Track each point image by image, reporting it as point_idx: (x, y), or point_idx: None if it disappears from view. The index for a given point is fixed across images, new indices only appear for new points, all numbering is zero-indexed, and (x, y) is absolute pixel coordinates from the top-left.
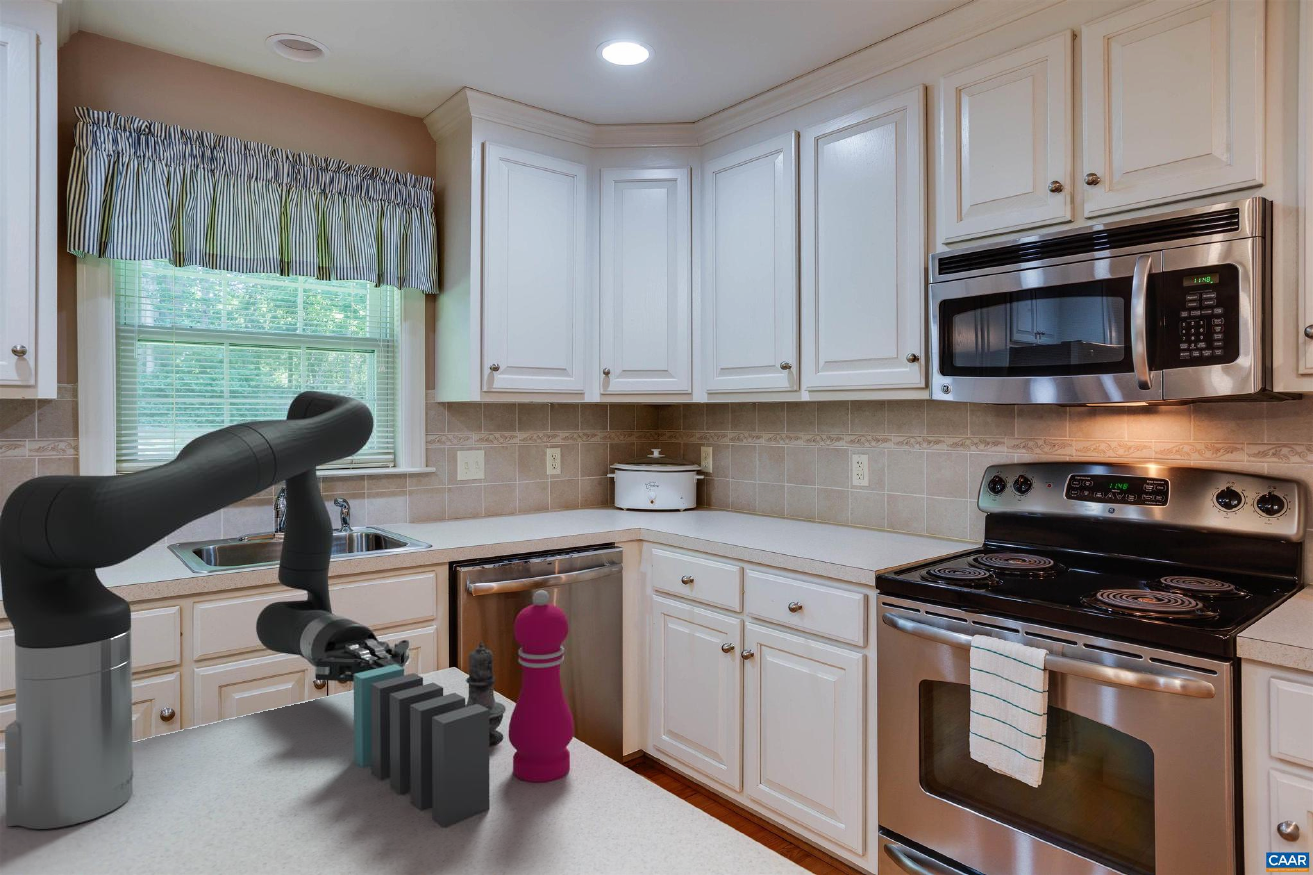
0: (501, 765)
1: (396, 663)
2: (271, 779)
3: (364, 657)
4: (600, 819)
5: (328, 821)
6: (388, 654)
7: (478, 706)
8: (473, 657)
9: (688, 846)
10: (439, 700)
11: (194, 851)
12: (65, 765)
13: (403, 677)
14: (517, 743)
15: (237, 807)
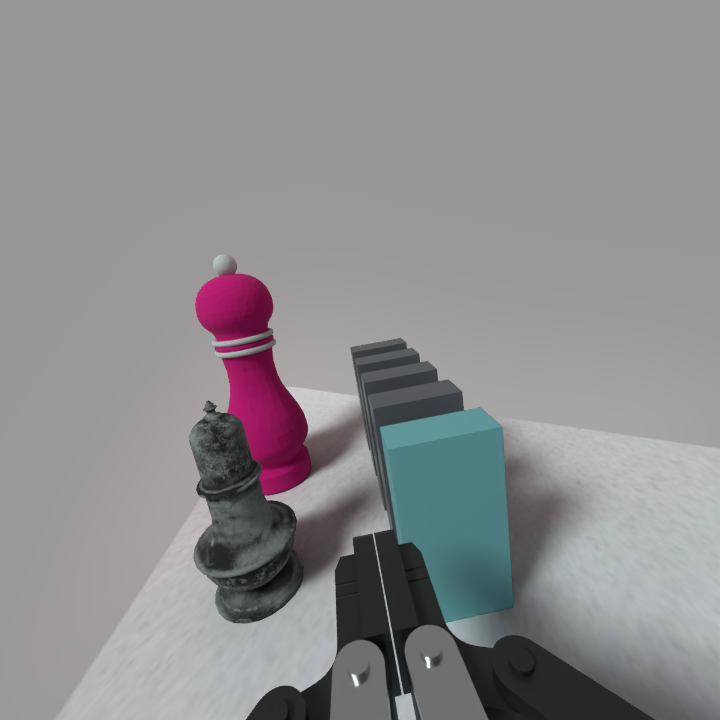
0: (303, 496)
1: (355, 547)
2: (706, 607)
3: (472, 709)
4: (307, 416)
5: (527, 461)
6: (333, 690)
7: (355, 350)
8: (240, 421)
9: (293, 395)
10: (383, 357)
11: (688, 456)
12: None
13: (398, 400)
14: (307, 424)
15: (706, 526)
